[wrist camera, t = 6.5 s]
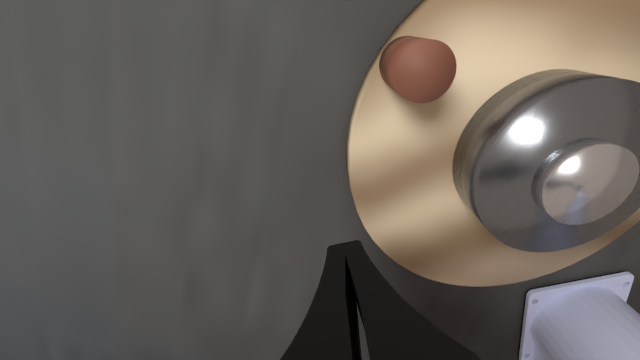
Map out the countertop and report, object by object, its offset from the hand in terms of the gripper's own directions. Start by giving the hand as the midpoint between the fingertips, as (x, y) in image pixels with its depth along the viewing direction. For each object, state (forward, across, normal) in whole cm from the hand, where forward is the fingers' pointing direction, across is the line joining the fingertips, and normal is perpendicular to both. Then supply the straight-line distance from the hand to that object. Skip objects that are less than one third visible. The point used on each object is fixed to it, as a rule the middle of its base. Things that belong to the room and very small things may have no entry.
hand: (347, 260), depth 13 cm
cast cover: (+6, -11, 0) cm, 12 cm away
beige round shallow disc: (+7, -11, 0) cm, 13 cm away
